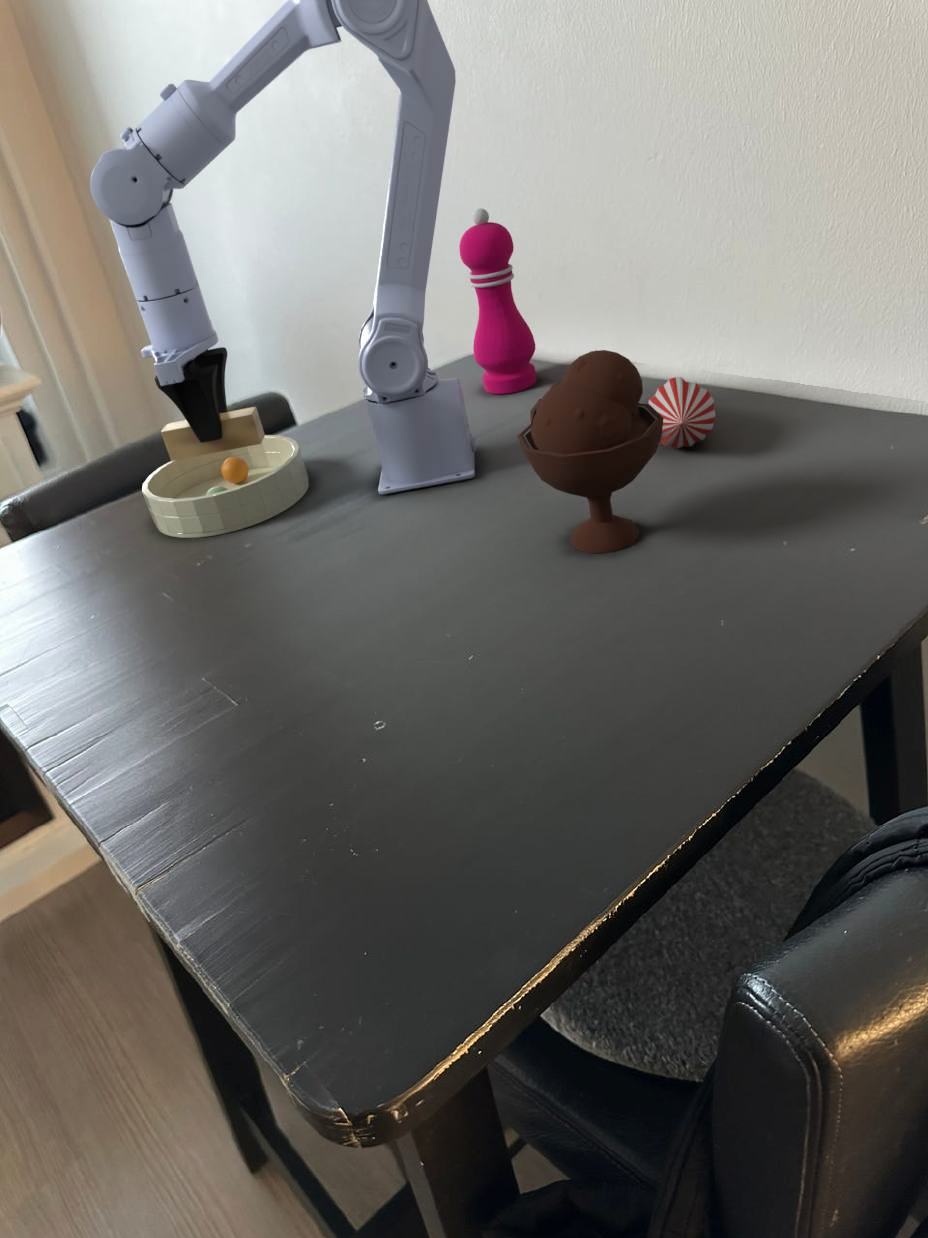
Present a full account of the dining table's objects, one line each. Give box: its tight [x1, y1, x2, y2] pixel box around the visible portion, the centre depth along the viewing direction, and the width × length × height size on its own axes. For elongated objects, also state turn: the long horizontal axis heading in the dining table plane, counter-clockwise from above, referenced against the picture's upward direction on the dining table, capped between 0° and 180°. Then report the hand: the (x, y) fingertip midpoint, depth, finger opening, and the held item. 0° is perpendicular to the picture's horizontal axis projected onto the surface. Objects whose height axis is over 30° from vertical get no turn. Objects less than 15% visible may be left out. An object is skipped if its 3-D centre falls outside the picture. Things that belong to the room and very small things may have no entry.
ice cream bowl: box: [517, 349, 663, 554], centre depth 79 cm, size 11×11×15 cm
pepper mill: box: [458, 208, 538, 395], centre depth 116 cm, size 7×7×20 cm
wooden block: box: [160, 406, 266, 461], centre depth 99 cm, size 9×2×3 cm, turn 90°
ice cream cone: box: [648, 376, 717, 449], centre depth 97 cm, size 6×6×20 cm
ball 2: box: [221, 457, 248, 484], centre depth 109 cm, size 3×3×3 cm
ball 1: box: [206, 486, 228, 495], centre depth 102 cm, size 3×3×3 cm
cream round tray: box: [141, 434, 310, 539], centre depth 105 cm, size 16×16×4 cm
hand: (214, 434), depth 99 cm, fingers closed on wooden block, 2 cm apart
